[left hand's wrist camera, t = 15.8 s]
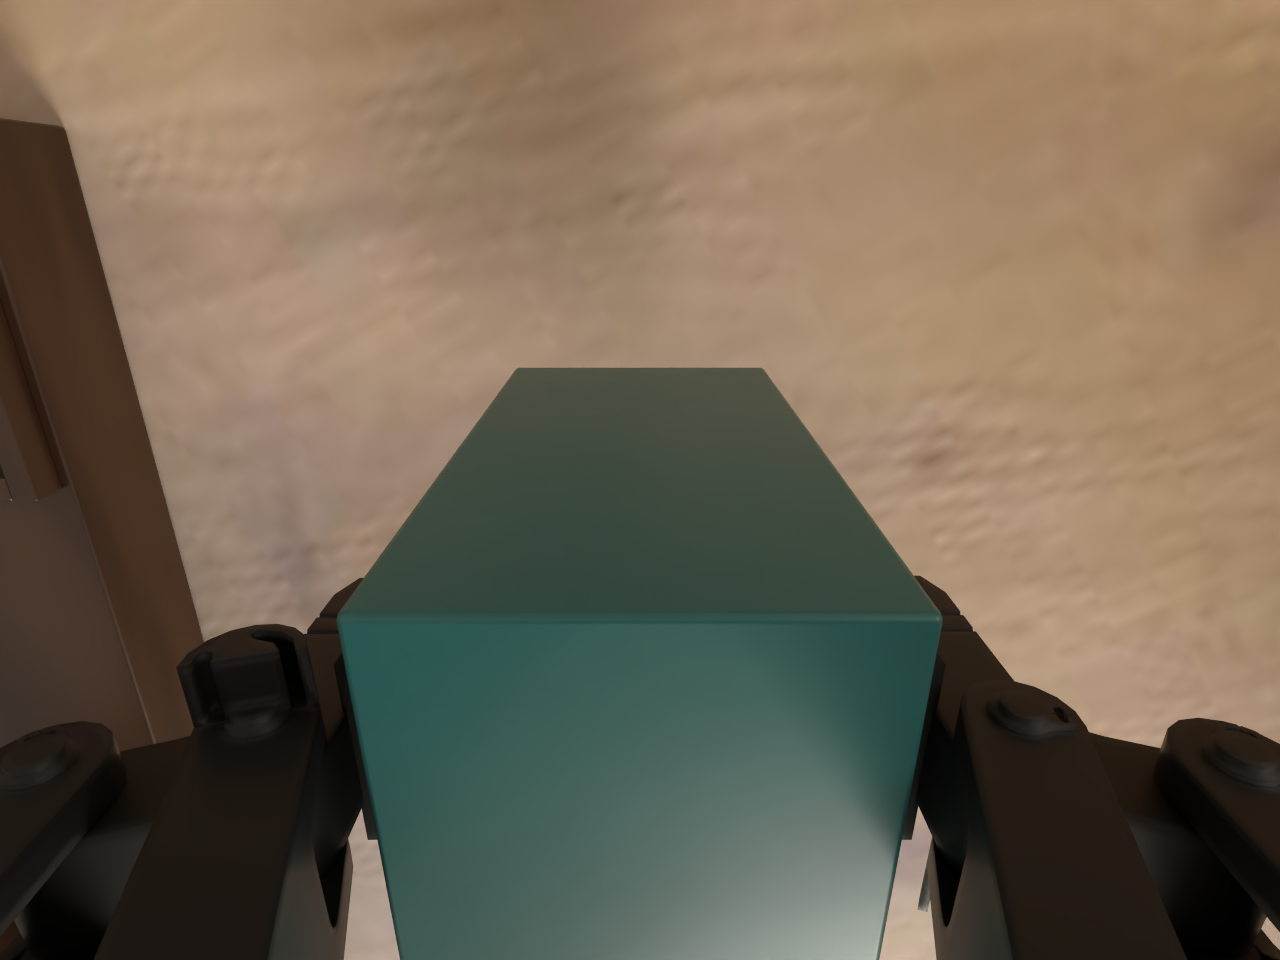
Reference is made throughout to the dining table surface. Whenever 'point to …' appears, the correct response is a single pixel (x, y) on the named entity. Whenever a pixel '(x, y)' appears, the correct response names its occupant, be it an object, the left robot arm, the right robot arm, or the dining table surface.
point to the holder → (77, 481)
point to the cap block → (639, 683)
